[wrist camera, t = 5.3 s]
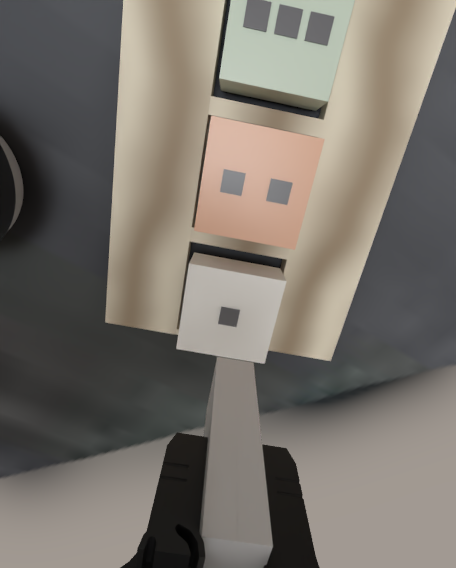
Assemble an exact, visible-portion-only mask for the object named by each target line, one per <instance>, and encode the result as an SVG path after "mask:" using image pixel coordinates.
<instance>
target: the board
mask: <svg viewBox="0 0 456 568" xmlns="http://www.w3.org/2000/svg"><path fill="white" fill-rule="evenodd" d="M226 7H227V0H123V17H122V35H121V52H120V70H119V88H118V105H117V123H116V141H115V158H114V176H113V194H112V211H111V229H110V247H109V264H108V282H107V300H106V317H105V322H106V323H111V324H117V325H123V326H129V327H135V328H141V329H146V330H152V331H158V332H164V333H170V334H176V335H178V333H179V327H180V315H181V309H182V302H183V295H184V289H185V282H186V275H187V268H188V262H189V255H190V248H191V242H195V243H201V244H206V245H211V246H217V247H222V248H228V249H233V250H238V251H244V252H249V253H254V254H260V255H265V256H270V257H276V258H281V259H282V263H281V267H280V269H281V271H282V273H283V275H284V277H285V279H286V281H287V282H286V285H285V289H284V293H283V296H282V300H281V304H280V308H279V311H278V315H277V319H276V323H275V326H274V330H273V334H272V337H271V341H270V345H269V349H268V350H269V351H275V352H281V353H287V354H293V355H298V356H304V357H310V358H316V359H322V360H328V361H331V358H332V356H333V353H334V350H335V347H336V344H337V341H338V339H339V336H340V333H341V330H342V327H343V324H344V322H345V319H346V316H347V313H348V310H349V308H350V305H351V302H352V299H353V296H354V293H355V291H356V288H357V285H358V282H359V279H360V276H361V274H362V271H363V268H364V265H365V262H366V259H367V257H368V254H369V251H370V248H371V245H372V243H373V240H374V237H375V234H376V231H377V228H378V226H379V223H380V220H381V217H382V214H383V211H384V209H385V206H386V203H387V200H388V197H389V195H390V192H391V189H392V186H393V183H394V180H395V178H396V175H397V172H398V169H399V166H400V163H401V161H402V158H403V155H404V152H405V149H406V146H407V144H408V141H409V138H410V135H411V132H412V130H413V127H414V124H415V121H416V118H417V115H418V113H419V110H420V107H421V104H422V101H423V98H424V96H425V93H426V90H427V87H428V84H429V81H430V79H431V76H432V73H433V70H434V67H435V65H436V62H437V59H438V56H439V53H440V50H441V48H442V45H443V42H444V39H445V36H446V33H447V31H448V28H449V25H450V22H451V19H452V17H453V14H454V11H455V8H456V0H355V2H354V6H353V9H352V13H351V17H350V21H349V25H348V28H347V32H346V36H345V40H344V44H343V48H342V51H341V55H340V59H339V63H338V67H337V70H336V74H335V78H334V82H333V86H332V89H331V93H330V97H329V101H328V102H327V103H326V104H324V105H323V106H322V107H321V111H320V115H319V119H317V118H313V117H308V116H303V115H298V114H294V113H289V112H284V111H280V110H275V109H270V108H265V107H261V106H256V105H251V104H246V103H242V102H237V101H232V100H228V99H223V98H218V97H213V94H214V87H215V80H216V74H217V67H218V60H219V54H220V47H221V40H222V33H223V27H224V20H225V13H226ZM211 116H216V117H221V118H226V119H230V120H235V121H240V122H245V123H250V124H254V125H259V126H264V127H269V128H274V129H278V130H283V131H288V132H293V133H298V134H302V135H307V136H312V137H317V138H322V139H325V140H324V144H323V148H322V151H321V155H320V159H319V162H318V166H317V170H316V174H315V177H314V181H313V185H312V188H311V192H310V196H309V200H308V203H307V207H306V211H305V215H304V218H303V222H302V226H301V229H300V233H299V237H298V241H297V244H296V248H295V250H293V249H288V248H283V247H278V246H272V245H267V244H262V243H256V242H251V241H246V240H240V239H235V238H230V237H225V236H219V235H214V234H209V233H203V232H198V231H194V227H195V224H194V221H195V215H196V208H197V201H198V195H199V188H200V181H201V174H202V168H203V161H204V154H205V148H206V141H207V134H208V127H209V121H210V119H211Z"/></svg>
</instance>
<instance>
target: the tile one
mask: <svg viewBox="0 0 456 568" xmlns="http://www.w3.org/2000/svg"><path fill="white" fill-rule="evenodd" d="M286 282H287V281H286V279H285V277H284V275H283V273H282V271H281V269H280V268H276V267H270V266H265V265H260V264H254V263H249V262H243V261H238V260H233V259H227V258H222V257H216V256H211V255H206V254H200V253H195V252H194V254H193V256H192V258H191V260H190V262H189V267H188V273H187V280H186V287H185V293H184V300H183V307H182V313H181V320H180V327H179V333H178V340H177V347H176V349H180V350H186V351H192V352H198V353H204V354H210V355H215V356H221V357H227V358H233V359H239V360H245V361H251V362H257V363H263V364H265V360H266V356H267V352H268V349H269V345H270V341H271V337H272V334H273V330H274V326H275V323H276V319H277V315H278V311H279V308H280V304H281V300H282V296H283V293H284V289H285V285H286Z"/></svg>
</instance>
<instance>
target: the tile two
mask: <svg viewBox="0 0 456 568" xmlns="http://www.w3.org/2000/svg"><path fill="white" fill-rule="evenodd" d="M324 140H325V139H322V138H317V137H312V136H307V135H302V134H298V133H293V132H288V131H283V130H278V129H274V128H269V127H264V126H259V125H254V124H250V123H245V122H240V121H235V120H230V119H226V118H221V117H216V116H211V120H210V127H209V133H208V140H207V147H206V153H205V160H204V167H203V173H202V180H201V187H200V193H199V200H198V207H197V213H196V220H195V227H194V231H198V232H203V233H209V234H214V235H219V236H225V237H230V238H235V239H240V240H246V241H251V242H256V243H262V244H267V245H272V246H278V247H283V248H288V249H293V250H295V248H296V244H297V241H298V237H299V233H300V229H301V226H302V222H303V218H304V215H305V211H306V207H307V203H308V200H309V196H310V192H311V188H312V185H313V181H314V177H315V174H316V170H317V166H318V162H319V159H320V155H321V151H322V148H323V144H324Z"/></svg>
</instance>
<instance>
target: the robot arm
mask: <svg viewBox="0 0 456 568" xmlns="http://www.w3.org/2000/svg"><path fill="white" fill-rule="evenodd" d="M121 568H319V565H318V562H317V559H316V556H315V551H314V547H313V542H312V538H311V532H310V528H309V523H308V518H307V514H306V509H305V505H304V500H303V498H302V490H301V486H300V484H299V476H298V472H297V467H296V463H295V462H294V460H293V458H292V457H291V455H290V454H289V452H288V450H287V449H286V448H281V447H275V446H268V445H262V439H261V429H260V420H259V410H258V401H257V392H256V382H255V373H254V363H252V362H246V361H240V360H234V359H228V358H222V357H217V360H216V365H215V370H214V375H213V380H212V385H211V391H210V396H209V401H208V406H207V412H206V421H205V430H204V437H202V436H195V435H189V434H182V433H177V434H176V435H175V436H174V437H173V439H172V440H171V441H170V443H169V444H168V445H167V449H166V453H165V457H164V461H163V465H162V470H161V474H160V478H159V482H158V486H157V490H156V495H155V499H154V503H153V507H152V511H151V515H150V520H149V524H148V528H147V532H146V533H145V534H144V535H143V538H142V540H141V542H140V544H139V547H138V550H137V554H136V555H135V556H134V557H133V558H132V559H131V560H130V561H129V562H128V563H126V564H125V565H124V566H122V567H121Z"/></svg>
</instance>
